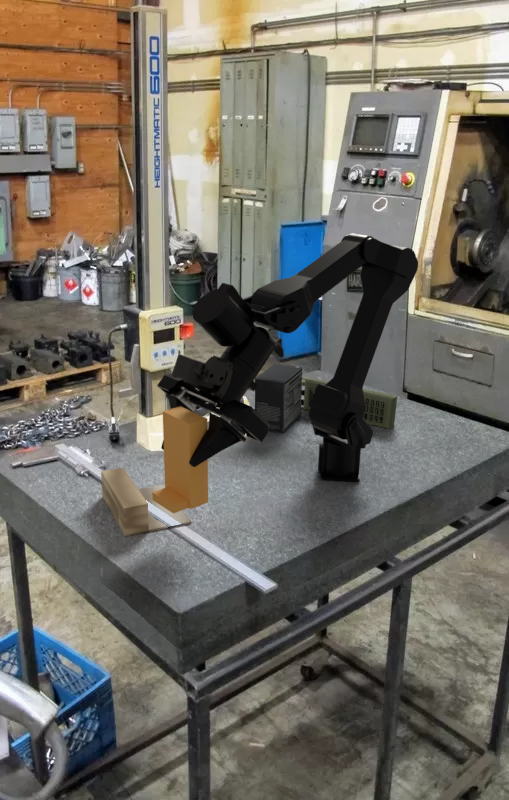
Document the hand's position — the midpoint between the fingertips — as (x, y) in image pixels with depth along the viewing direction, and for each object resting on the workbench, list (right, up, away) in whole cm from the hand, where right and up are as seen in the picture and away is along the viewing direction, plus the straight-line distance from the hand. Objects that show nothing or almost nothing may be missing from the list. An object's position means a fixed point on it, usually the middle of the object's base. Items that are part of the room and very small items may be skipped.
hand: (177, 457), depth 104 cm
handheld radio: (+27, +5, +51) cm, 58 cm away
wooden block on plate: (-5, -9, +12) cm, 16 cm away
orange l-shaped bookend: (0, -6, +2) cm, 7 cm away
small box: (+15, +3, +47) cm, 49 cm away
